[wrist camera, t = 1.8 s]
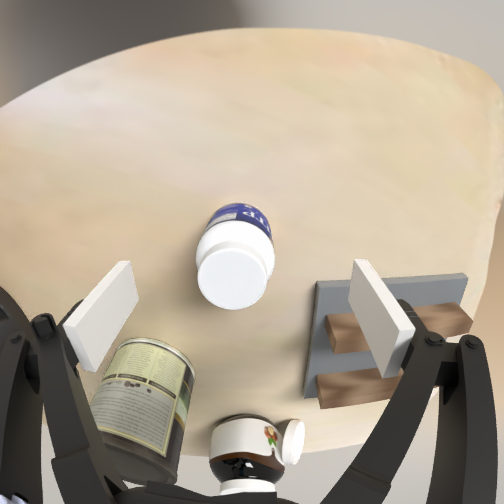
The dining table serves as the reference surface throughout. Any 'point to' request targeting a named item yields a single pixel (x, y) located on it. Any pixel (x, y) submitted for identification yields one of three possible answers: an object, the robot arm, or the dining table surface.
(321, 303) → the plate
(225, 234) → the pill bottle
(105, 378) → the coffee can
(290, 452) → the spread jar
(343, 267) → the dining table surface
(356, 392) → the wooden rail pair
